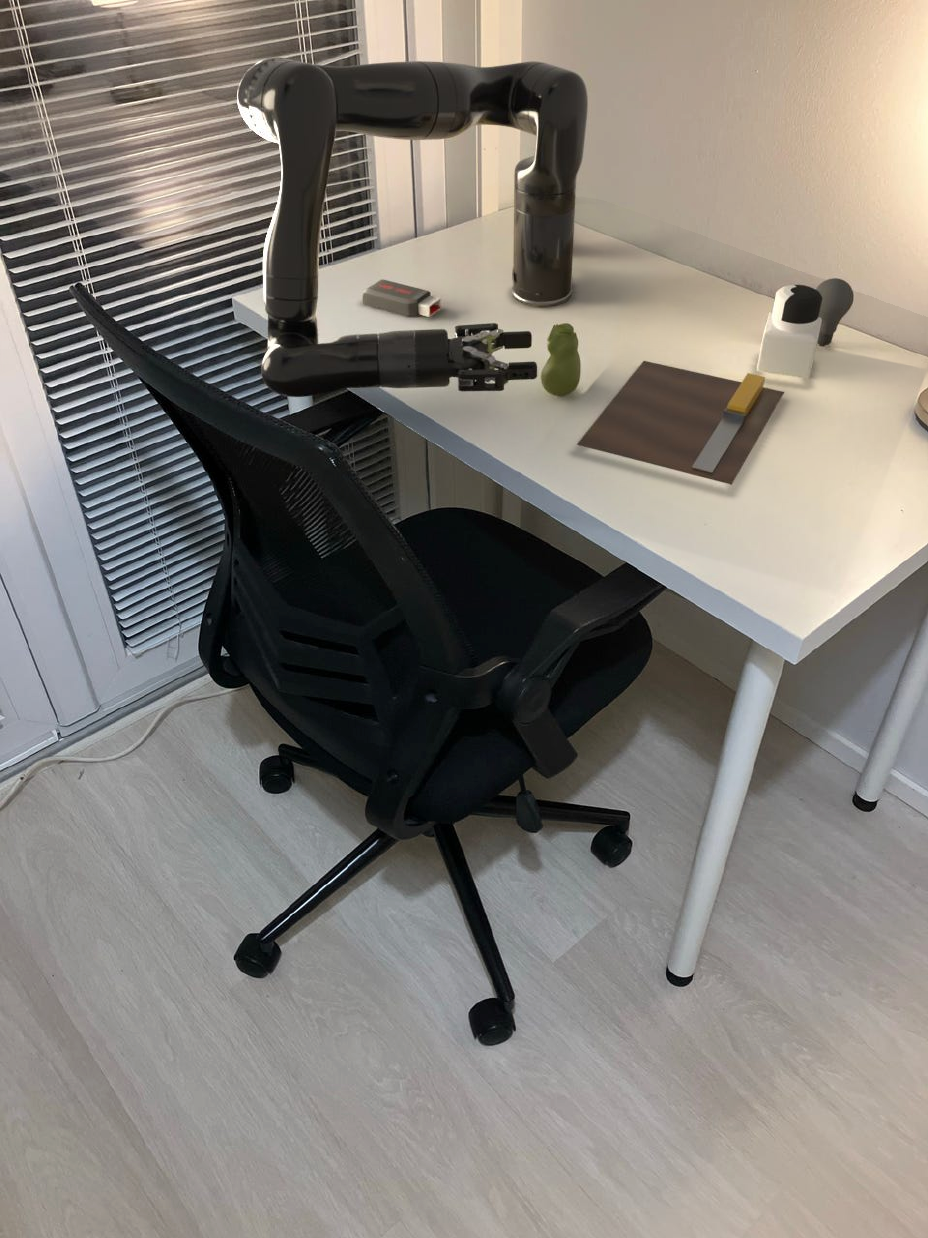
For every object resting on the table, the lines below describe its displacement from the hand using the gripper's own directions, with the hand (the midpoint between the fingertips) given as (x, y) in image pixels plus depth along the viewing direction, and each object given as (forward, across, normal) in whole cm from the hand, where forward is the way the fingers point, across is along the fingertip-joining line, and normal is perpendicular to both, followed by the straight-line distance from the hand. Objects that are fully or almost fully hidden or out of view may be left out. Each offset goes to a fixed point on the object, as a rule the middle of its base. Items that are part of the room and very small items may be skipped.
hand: (534, 354), depth 141 cm
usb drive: (-18, +28, +6) cm, 34 cm away
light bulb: (+43, +11, +6) cm, 45 cm away
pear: (+4, 0, +6) cm, 7 cm away
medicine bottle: (+36, +4, +6) cm, 36 cm away
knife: (+24, -13, +4) cm, 28 cm away
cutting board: (+19, -10, +6) cm, 22 cm away
